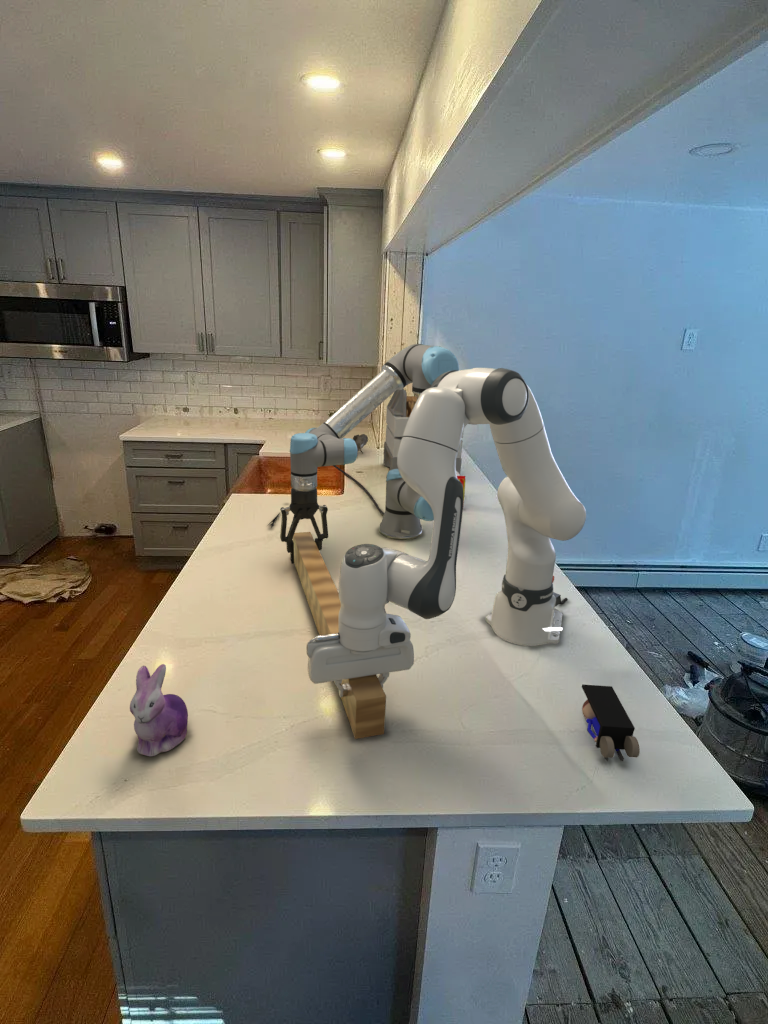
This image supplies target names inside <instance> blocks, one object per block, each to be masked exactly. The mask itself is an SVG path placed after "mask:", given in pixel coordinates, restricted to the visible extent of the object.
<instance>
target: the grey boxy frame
mask: <svg viewBox="0 0 768 1024" xmlns="http://www.w3.org/2000/svg"><path fill="white" fill-rule="evenodd" d="M407 394H408V393H407V390H406V389H405V388H403V389H402V390H396V391H395V392H394V393H393V394H392V395H391V398H390V400H389V402H388V404H387V405H386V413H385V414H386V415H385V423H386V428H385V438H384V442H383V466H384V467H388V468H389V471H390V470H393V469H398V466H397V456H398V451H399V447H400V444H401V440H402V437H403V433H404V430H405V427H406V424H407V422H408V419H409V417H410V414H411V412H412V410H413V408H414V405H415V403H416V401H417V397H416V395H414V396H413V395H412V396H411V395H407ZM464 431H465V428H464V429H463V432H462V438H461V442H460V446H459V450H458V452H457V453H458V454H457V458H456V471H457V472H458V473H459V474H460V475H462V474H461V472H462V461H463V460H462V453H463V442H464V441H463V440H462V439H463V438H464Z"/></svg>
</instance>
